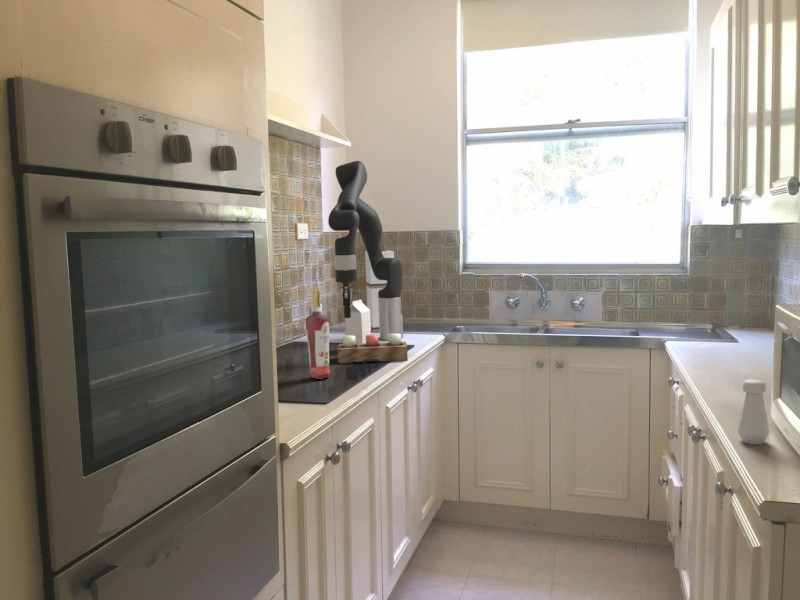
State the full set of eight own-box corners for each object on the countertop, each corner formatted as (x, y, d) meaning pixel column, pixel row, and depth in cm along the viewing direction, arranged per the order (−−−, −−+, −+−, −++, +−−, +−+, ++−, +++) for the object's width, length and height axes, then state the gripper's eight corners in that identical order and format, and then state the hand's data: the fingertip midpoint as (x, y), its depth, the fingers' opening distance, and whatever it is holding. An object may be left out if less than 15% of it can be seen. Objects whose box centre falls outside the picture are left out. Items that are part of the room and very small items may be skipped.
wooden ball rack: (338, 363, 236) (337, 349, 235) (339, 357, 245) (338, 344, 245) (407, 360, 237) (407, 346, 236) (405, 355, 246) (405, 341, 246)
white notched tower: (396, 330, 303) (393, 251, 298) (372, 332, 300) (369, 252, 296) (390, 326, 314) (388, 250, 310) (368, 328, 311) (365, 251, 307)
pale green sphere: (342, 347, 238) (342, 337, 237) (343, 345, 242) (342, 335, 242) (355, 347, 238) (355, 337, 238) (355, 344, 242) (355, 335, 242)
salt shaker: (739, 435, 146) (741, 376, 145) (770, 439, 143) (771, 378, 141) (735, 443, 141) (736, 381, 140) (766, 448, 138) (768, 385, 137)
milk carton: (371, 349, 260) (369, 299, 258) (363, 352, 254) (360, 301, 252) (355, 348, 263) (353, 299, 261) (346, 351, 257) (344, 301, 255)
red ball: (365, 346, 238) (365, 336, 238) (366, 344, 243) (365, 334, 242) (378, 346, 238) (378, 336, 238) (378, 343, 243) (378, 334, 242)
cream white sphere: (388, 345, 239) (388, 335, 238) (388, 343, 243) (388, 333, 242) (401, 345, 239) (401, 335, 238) (400, 342, 243) (400, 333, 243)
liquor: (321, 381, 209) (317, 290, 206) (303, 379, 213) (298, 290, 210) (336, 376, 215) (332, 288, 212) (318, 374, 219) (314, 287, 216)
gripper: (335, 267, 243) (337, 315, 245) (333, 269, 230) (335, 320, 232) (357, 266, 244) (358, 314, 246) (356, 269, 231) (358, 319, 233)
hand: (347, 317), depth 239 cm, fingers closed
